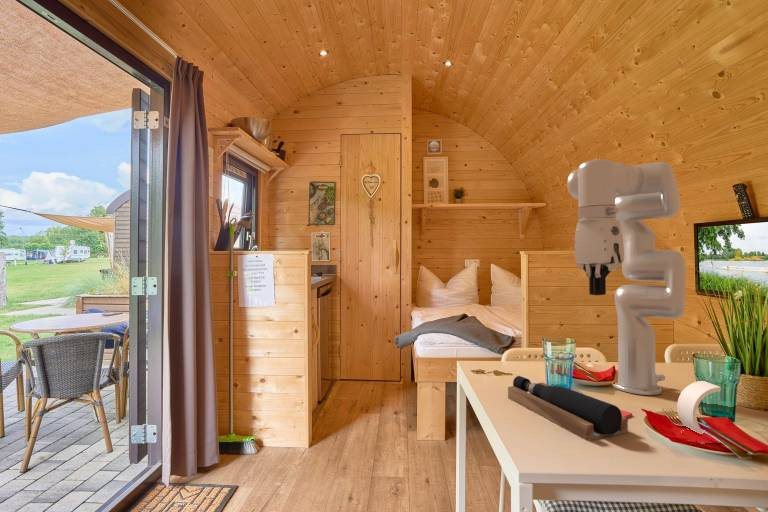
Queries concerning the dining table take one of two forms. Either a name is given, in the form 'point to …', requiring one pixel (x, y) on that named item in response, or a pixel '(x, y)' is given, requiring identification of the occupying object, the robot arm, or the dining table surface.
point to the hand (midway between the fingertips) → (597, 294)
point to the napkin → (626, 413)
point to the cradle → (560, 415)
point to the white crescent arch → (693, 403)
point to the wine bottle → (576, 404)
